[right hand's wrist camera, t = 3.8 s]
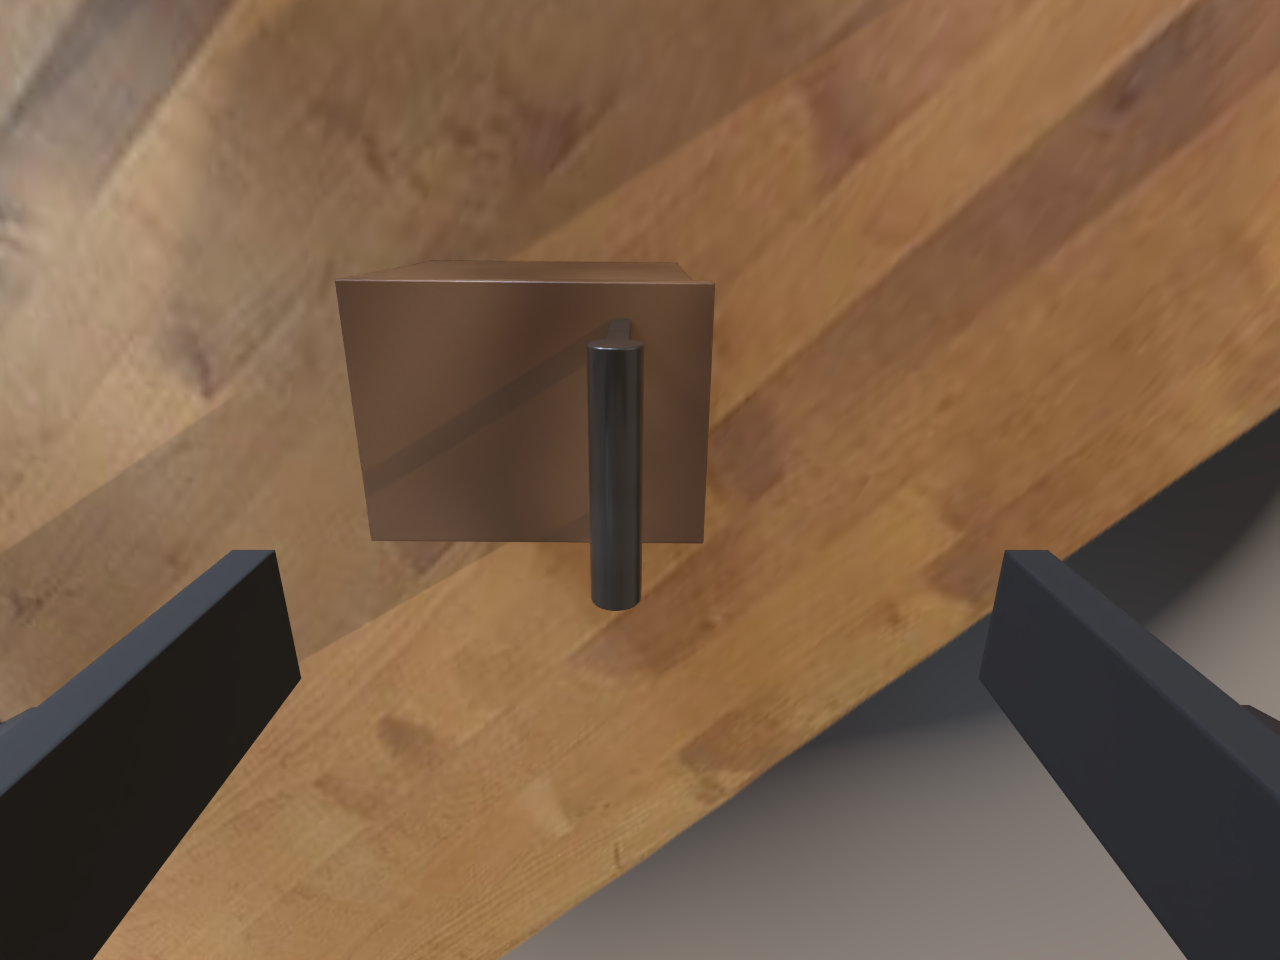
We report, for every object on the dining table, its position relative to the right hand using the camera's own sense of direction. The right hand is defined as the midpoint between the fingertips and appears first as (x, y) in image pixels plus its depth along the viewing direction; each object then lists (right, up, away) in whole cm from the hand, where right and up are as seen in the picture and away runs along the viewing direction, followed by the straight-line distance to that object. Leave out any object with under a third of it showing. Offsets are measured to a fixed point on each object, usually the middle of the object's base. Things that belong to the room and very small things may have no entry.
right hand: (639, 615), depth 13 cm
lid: (-4, +5, +14) cm, 15 cm away
